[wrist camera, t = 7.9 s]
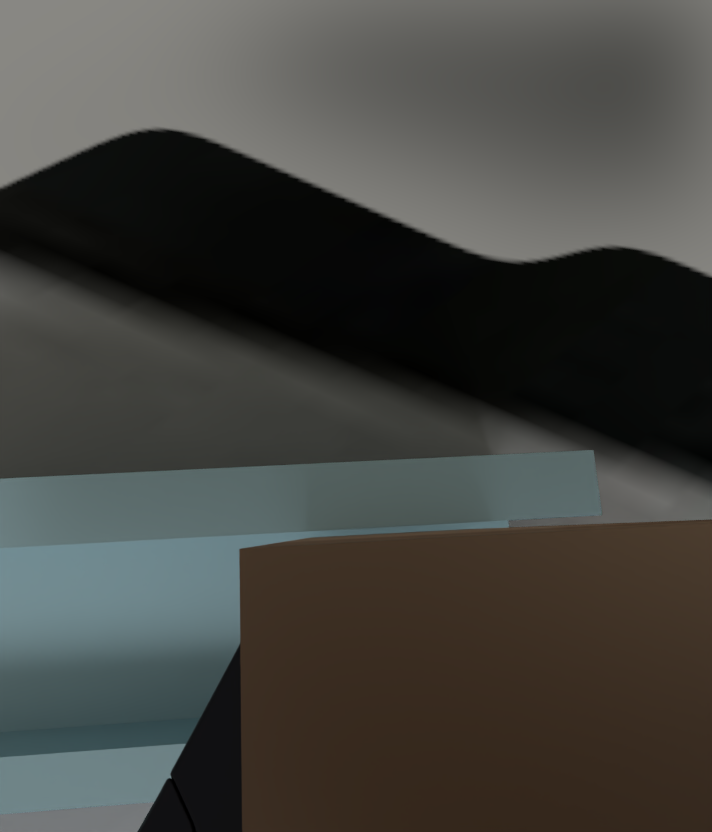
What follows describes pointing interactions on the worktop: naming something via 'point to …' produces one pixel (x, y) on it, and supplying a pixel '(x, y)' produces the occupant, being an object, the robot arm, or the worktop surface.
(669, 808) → the walnut box
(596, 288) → the worktop surface
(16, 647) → the backboard channel
